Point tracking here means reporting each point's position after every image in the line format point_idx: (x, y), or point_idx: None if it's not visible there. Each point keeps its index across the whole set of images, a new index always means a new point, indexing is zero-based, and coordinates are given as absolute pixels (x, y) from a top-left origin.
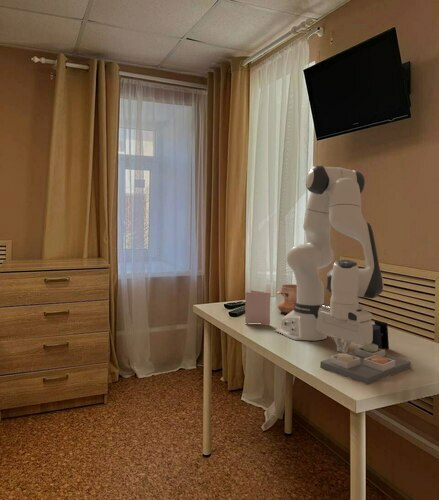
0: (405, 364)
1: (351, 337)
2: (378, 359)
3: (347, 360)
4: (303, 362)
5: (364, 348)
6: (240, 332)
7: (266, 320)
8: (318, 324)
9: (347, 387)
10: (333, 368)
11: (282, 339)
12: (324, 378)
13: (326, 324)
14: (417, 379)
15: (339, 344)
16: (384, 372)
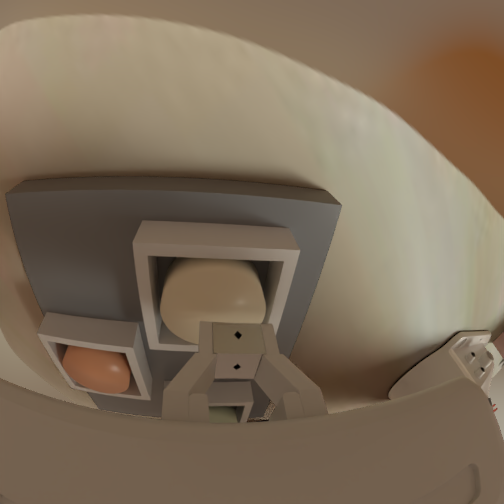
0: (90, 394)
1: (70, 452)
2: (89, 370)
3: (169, 282)
4: (415, 192)
5: (217, 415)
6: None
7: (502, 344)
8: (487, 418)
9: (51, 66)
10: (233, 188)
11: (481, 312)
12: (210, 52)
13: (443, 470)
14: (26, 342)
15: (266, 371)
16: (44, 311)
